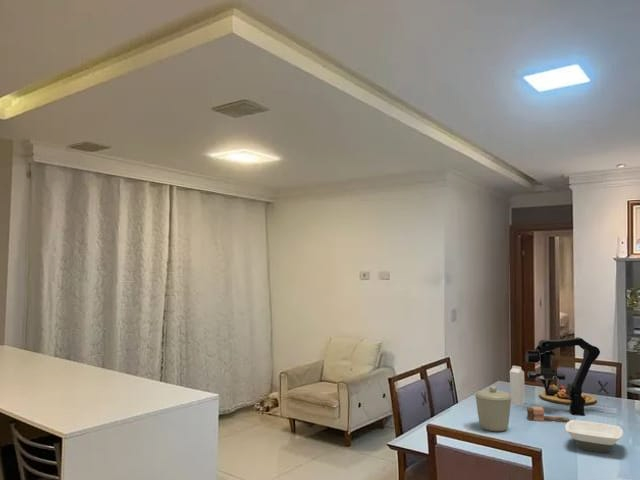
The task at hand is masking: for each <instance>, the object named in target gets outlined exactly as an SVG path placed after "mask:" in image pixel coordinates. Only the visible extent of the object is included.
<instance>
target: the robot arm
mask: <svg viewBox="0 0 640 480" xmlns="http://www.w3.org/2000/svg"><path fill="white" fill-rule="evenodd" d="M574 346H575V347H576V346H578V347H580V348H581V349H582V350H583V353H582V354H583V355H582V356H583V357H582V361H581V363H580V366H579V368H578V371H577V372H576V375H575V377H574V379H573V382H572V383H571V384H570V383H567V386H566V387H567V388H566V389H565V390H566V396H567V397H569V399H570V401H571V404H568V406H569V412H570V414H571V415H574V416H586V414H585V405H584V404H585V402H586V401H585V400H584V399H583V398H582V397H581V394H582V393H583V384H584V383H585V380H586V378H587V375H588V373H589V370H590V368H591V366H592V363H594V362H595V361H596V360H597V359H598V357H599V355H600V354H601V351H600V348H599V347H597V346H595V345H592V344H590V343H589V342H588V341H586V340H584V339H583V338H581V337H578V336H577V337H573V338H572V337H571V338H564V339H557V340H556V339H555V340H554V339H553V340H552V339H541V340H540V341H539V342H538V343H537V346H536V348H535V349H534V350H528V349H526V352H525V357H524V359H525V362H526V363H529V364H530V363H533V364H535V363H536V364H538V363H539V365H540V366H539V368H540V369H539V370H540V372H539V373H538V372H536V371H527V377H528V379H536V378H538V380H539V381H541V383H542V384H543V388H544V391H548V388H549V386H551V383H552V382H553V381H554V378H556V379H558V380H559V381H561V380H563V381H565V380H566V375H565V374H564V373H563V372H557V369H552V356H555V355H556V353H554V352H553V351H554V350H556V349H560V348H566V347H574Z"/></svg>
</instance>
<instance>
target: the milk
mask: <svg viewBox="0 0 640 480" xmlns="http://www.w3.org/2000/svg"><path fill="white" fill-rule="evenodd" d="M525 390H526V389H525V371H524V370H523V369H522V367H521V366H518V365H512V366H511V369H510V370H509V395H511V396H512V399H511V405H512V404H513V405H517V406H522V405H525V404H526V395H525V394H526V393H525V392H526V391H525Z"/></svg>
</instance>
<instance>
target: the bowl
mask: <svg viewBox="0 0 640 480" xmlns="http://www.w3.org/2000/svg"><path fill="white" fill-rule="evenodd" d="M564 429H565V431H566V432H567V433H568V434H569V436H570V437H571V438H572V439H573V440H574V441H575V443H576V444H577V446H578V447H579V448H580V449H581V450H585V451H590V452H596V453H602V454H603V453H604V454H607V453H609V451H610V450H611V449H612V447H613V446H614V444H616V443H617V442H618V441H619V440H620V439H621V438H622V437H623V435H624V431H623V429H622V427H621V426H619V425H614V424H608V423H601V422H595V421H586V420H576V419H570V421H569V422H567V423H565V426H564Z"/></svg>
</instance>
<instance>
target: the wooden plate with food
mask: <svg viewBox="0 0 640 480" xmlns="http://www.w3.org/2000/svg"><path fill="white" fill-rule="evenodd" d="M566 388H567V386H566V385H561V386H559V387H558V386H557V385H555V384H554V383H553V384H551V385H549V388H548V391H545V390H544V391H541V392H539V394H538V396H539V398H540V399H542V400H544V401H547V402H551V403H556V404H561V405H563V404H564V405H569V404H571V401H570V399H569V397H567V396H566V390H565V389H566ZM581 397H582V398H583V399H584V400H585V401H586V402H585V404H584V406H589V405H590V406H591V405H595V404H596V403H597V398H596V397H594V396H591V395H589V394H585V393H584V392H582V394H581ZM594 403H595V404H594Z"/></svg>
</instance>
